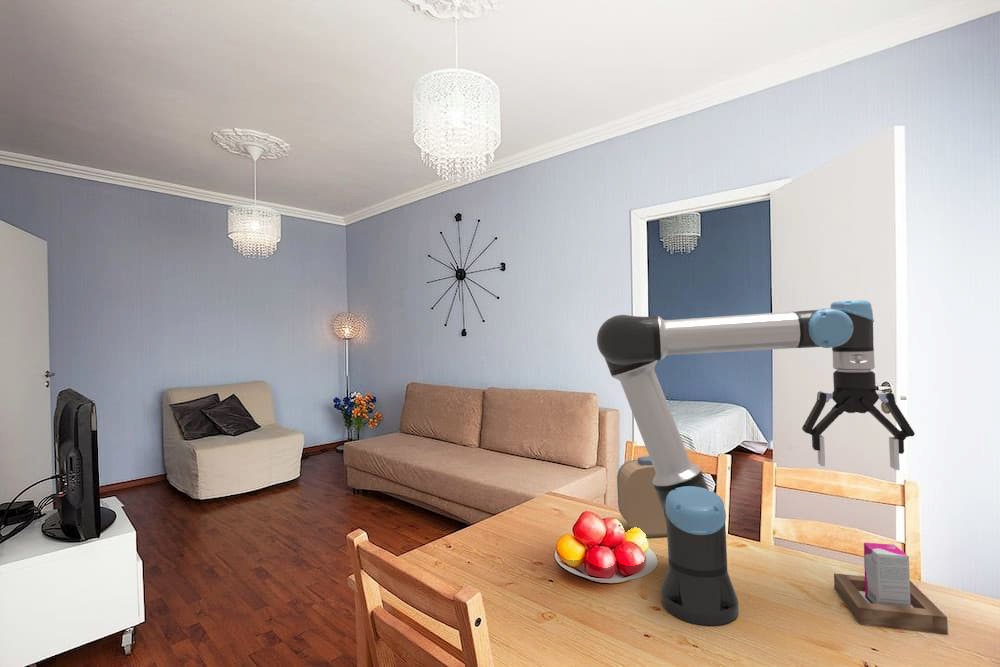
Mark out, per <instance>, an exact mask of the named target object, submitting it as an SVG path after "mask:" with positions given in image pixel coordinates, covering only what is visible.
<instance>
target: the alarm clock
mask: <svg viewBox="0 0 1000 667" xmlns="http://www.w3.org/2000/svg"><path fill="white" fill-rule="evenodd" d="M655 474H656V472H655V470H654V467H653V464H652V462H651V459H650V457H649V455H646V456H639V457H637V459H633V460H628V461H625V462H624V463H623V464H621V466H620V467H619V469H618V471H617V476H616V477H617V478H616V480H617V486H616V487H617V505H618V511H619V513H620V515H621V517H622V518H623V519H624V520H625V521H626V523H627V525H629V526H630V528H631V529H633V528H634V527H637V528H640V529H641V530H642V531H643V532H644V533H645V534H646V536H647V537H646V538H657V537H660V538H661V537H667V526H666V521H665V516H664V511H663V508H662V505H661V503H660V500H659V498H658V495H657V492H656V490H655V487H654V484H653V482H652V481H653V479H654V477H655Z"/></svg>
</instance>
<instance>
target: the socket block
mask: <svg viewBox="0 0 1000 667" xmlns="http://www.w3.org/2000/svg"><path fill="white" fill-rule="evenodd" d="M833 583H834V586H833V587H834V589H835V591H836V593H837V594H838V595H839V598H841V600H842V601H843V603H845V605H846V606H847V608H848V610H849V611H850V613H851V614H852V616H853V617H854V618H855V620H856V621H857V623H858V624H859V625H866V626H874V627H882V628H890V629H899V630H906V631H907V630H908V631H916V632H924V633H932V634H942V635H949V633H948V632H949V631H948V630H949V629H948V616H947V615H946V614H944V613H943V611H942V610H940V609H939V607H938V606H937V605H935V603H933V601H931V600H930V599H929V597H927V596H926V595H925V594H924V593H923V592H922V591H921V590H920V588H918V587H917V586H916V585H915V584H914V583H913V582H912V580H910V605H911V607H902V606H893V605H883V604H874V603H871V602H870V601H869V600H868V599H867V598H866V597H865V575H854V574H844V573H843V574H842V573H833Z"/></svg>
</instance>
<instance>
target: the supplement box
mask: <svg viewBox="0 0 1000 667" xmlns="http://www.w3.org/2000/svg"><path fill="white" fill-rule="evenodd" d="M863 557H864V558H863V559H864V560H863V562H864V563H863V564H864V567H863V568H864V576H865V597H866V598H867V599H868V600H869V601H870V602H871V603H874V604H883V605H893V606H902V607H911V605H910V581H911V579H910V578H911V577H910V556H909V555H908V554H907V553H906V552H904V550H903V551H902V550H901V548H899V547H898V546H896V545H895V544H889V543H874V542H863Z"/></svg>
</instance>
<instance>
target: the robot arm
mask: <svg viewBox="0 0 1000 667" xmlns="http://www.w3.org/2000/svg"><path fill="white" fill-rule="evenodd" d="M874 322H875V320H874V314H873V306H872V304H871V302H870V301H868V300H864V299H863V300H862V299H861V300H860V299H859V300H858V299H856V300H842V301H841V300H840V301H838V300H837V301H833V302H831V304H830V307H829V308H821V309H820V308H819V309H812V310H811V309H810V310H798V311H783V312H767V313H754V314H751V313H749V314H739V315H738V314H737V315H724V316H723V315H721V316H711V317H709V316H708V317H693V318H681V319H680V318H679V319H663V318H662V317H660V315H655V316H654V315H653V316H637V315H629V314H618V315H614V316H612V317H609V318H608V319H607V320H605V321H604V322H603V323H602V324H601V325H600V328H599V330H598V332H597V334H596V335H597V336H596V344H597V347H598V351H599V352H600V353H599V354H601V356H602V357H603V358H604V360H605V363H606V365H607V368H608V370H609V372H610V375H611V378H614V379H616V380H618V381H620V385H621V386H622V390H623V393H624V395H625V398H626V399H627V403H628V405H629V407H630V410H631V413H632V415H633V418H634V421H635V422H636V423H635V424H636V425H637V428H638V430H639V433H640V435H641V438H642V441H643V445H644V447H645V448H646V451H647V453H648V456H649V457H650V459H651V462H652V464H653V467H654V470H655V472H656V474H655V477H654V479H653V481H652V482H653V484H654V487H655V490H656V492H657V495H658V498H659V500H660V503H661V505H662V508H663V511H664V516H665V521H666V526H667V536H666V537H667V554H668V555H667V557H668V565H667V569H666V572H665V576H664V579H663V582H662V586H661V592H660V593H661V602H662V606H663V607H664V609H665V610H667V612H669V614H671V615H673V616H674V617H676V618H678V619H680V620H683V621H686V622H688V623H692V624H697V625H703V626H719V625H721V626H723V625H725V624H729V623H731V622H733V621H734V620H735V619H737V617H738V616H739V601H738V600H739V599H738V597H737V593H736V591H735V589H734V586H733V583H732V581H731V577H730V575H729V572H728V557H727V556H728V554H727V553H728V551H727V528H726V520H727V512H726V508H725V503H724V501H723V499H722V498H721V496H719V494H718V493H716V492H714V491H711V490H709V487H708V485H707V482H706V479H705V477H704V475H703V472H702V470H701V467H700V466H698V465H696V464H695V463H692V461H691V459H690V457H689V455H688V451H687V449H686V447H685V445H684V441H683V439H682V437H681V434H680V432H679V429H678V426H677V424H676V422H675V418H674V416H673V414H672V412H671V409H670V407H669V404H668V402H667V399H666V396H665V393H664V392H663V389H662V386H661V384H660V381H659V378H658V376H657V373H656V370H655V367H656V365H657V363H658V361H662V360H664V359H665V358H666V357H667V356H674V355H692V354H693V355H694V354H695V355H696V354H712V353H726V352H727V353H728V352H729V353H730V352H732V353H733V352H748V351H749V352H750V351H766V350H767V351H768V350H769V351H770V350H783V349H784V350H785V349H807V348H825V349H830V348H831V351H832V368H833V369H834V370H835V371H834V372H833V373H832V374H833V375H832V378H833V380H832V381H833V391H832V393H828V392H824V391H821V390H819V391H818V392H817V394H816V401H815V404H814V405H813V407H812V409H811V411H810V413H809V415H808V416H807V418H806V420H805V421H804V424H803V425H802V428H801V430H802V431H803V432H804V433H806V434H809V435H810V436H811V444H812V445H811V446H812V449H813V450H814V451H817V464H818V465H819V466H820V467H826V457H825V456H826V454H825V451H826V449H825V437H824V436H823V435H822V433H824V432H825V431H826V429H827V428H829V427H830V425H831V424H832V423H834V422H835V420H836V419H837V418H839V416H841V415H842V414H843V413H844V412H845V413H848V414H855V413H859V414H866V413H869V414H871V416H873V417H874V418H875V419H876V420H877V421H878V422H879V423H880V424H881V425H882V426H883V427H884V428H885V429H886V430H887V431H888V432H889V433H891V435H892V436H888V444H889V445H888V446H889V448H888V449H889V467H890V468H891V469H893V470H895V471H901V470H900V455H902V454H904V452H905V443H904V440H906V439H907V438H909V437H914V436H915V435H916V434H915V431H914V430H913V428H912V427H911V425H910V423H909V421H908V420H907V419H906V418H905V416H904V414H903V413H902V410H901V409H900V408H899V406H898V405H897V403H896V398H895V395H894V393H893V392H890V391H889V392H888V391H884V392H882V393H877V390H876V388H877V386H876V373H875V372H874V371H872V370H874V369H875V368H876V367H875V349H874V348H875V347H874ZM831 399H832V400H833V401H834V402H835V403H836V404H834V405H833V407H831V410H830V411H829V412H828V413H826V415H824V417H823V418H822V419H821V420H820V421H819V422H818V423H817V424H816V422H817V421H818V418H819V417H820V415H821V414H822V411H823V410H824V409H825V406H826V404H827V403H829V402H830V400H831ZM878 400H880V402H881V403H883V404H884V405H885V406H886V408H887V410H888V411H889V412H890V414H891V416H892V417H893V419H894V420H895V422H896V424H897V426H899V428H900V429H898V427H896V426H895V425H894V424H893V423H892V422H891V421H890V420H889V419H888V418H887V417H886V416H885V415H884V414H883V413H882V412H881V411H880V410H879V409H878V408H877V407H876V406H875V404H876V403H877V402H878Z"/></svg>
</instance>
